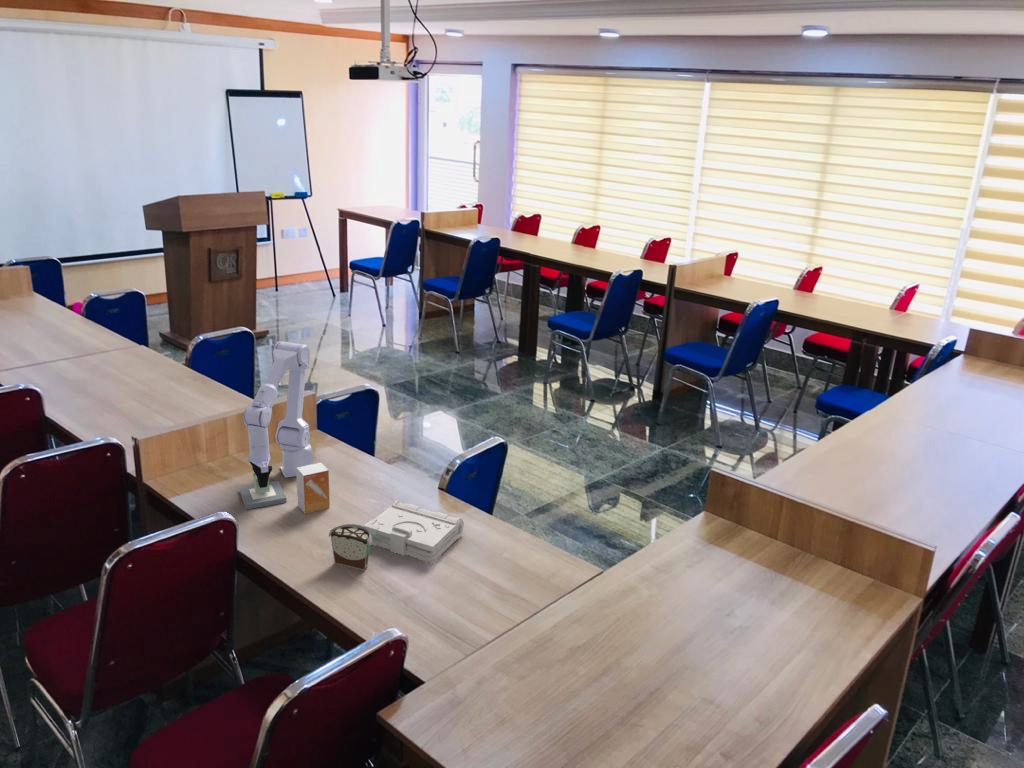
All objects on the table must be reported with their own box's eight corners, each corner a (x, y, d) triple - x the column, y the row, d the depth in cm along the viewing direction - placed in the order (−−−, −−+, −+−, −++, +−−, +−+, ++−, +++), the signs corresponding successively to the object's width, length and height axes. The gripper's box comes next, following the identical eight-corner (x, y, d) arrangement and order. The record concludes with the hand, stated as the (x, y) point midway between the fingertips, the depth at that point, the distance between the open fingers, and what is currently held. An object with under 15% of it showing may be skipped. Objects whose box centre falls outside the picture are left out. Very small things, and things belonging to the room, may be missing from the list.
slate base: (278, 485, 269) (278, 480, 268) (286, 502, 259) (286, 497, 258) (239, 491, 264) (239, 487, 263) (246, 509, 254) (246, 504, 253)
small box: (304, 514, 252) (302, 475, 248) (297, 505, 257) (295, 467, 253) (330, 508, 257) (328, 469, 252) (322, 499, 261) (321, 461, 257)
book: (385, 511, 257) (385, 489, 254) (466, 535, 246) (466, 512, 243) (347, 541, 240) (346, 518, 238) (432, 568, 229) (432, 544, 227)
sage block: (267, 485, 263) (266, 471, 261) (269, 491, 260) (268, 476, 258) (254, 488, 261) (252, 473, 259) (256, 493, 258) (255, 479, 256)
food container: (380, 560, 231) (380, 528, 227) (370, 572, 225) (369, 539, 222) (341, 550, 234) (340, 519, 231) (329, 562, 229) (328, 530, 225)
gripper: (241, 436, 259) (244, 476, 264) (249, 455, 247) (252, 496, 252) (264, 433, 262) (267, 472, 267) (274, 451, 250) (276, 492, 255)
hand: (261, 483), depth 260 cm, fingers closed on sage block, 4 cm apart
